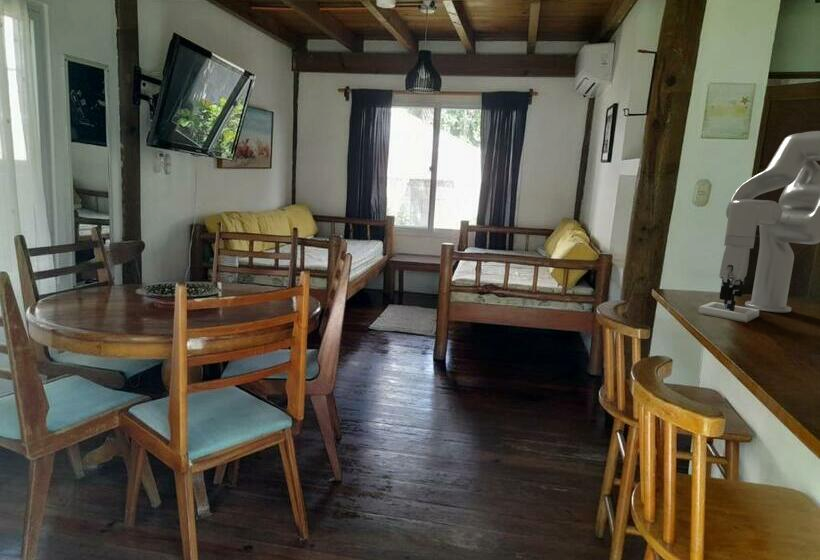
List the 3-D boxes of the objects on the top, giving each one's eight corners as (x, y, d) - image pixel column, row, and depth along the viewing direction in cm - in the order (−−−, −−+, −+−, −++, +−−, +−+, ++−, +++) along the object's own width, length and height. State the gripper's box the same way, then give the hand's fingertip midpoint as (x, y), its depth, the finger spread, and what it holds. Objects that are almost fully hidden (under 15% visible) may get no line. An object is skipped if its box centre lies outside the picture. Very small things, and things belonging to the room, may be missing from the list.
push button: (736, 316, 156) (741, 283, 154) (716, 313, 159) (721, 280, 158) (739, 312, 161) (744, 280, 159) (719, 309, 165) (724, 278, 163)
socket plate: (712, 308, 170) (712, 301, 169) (758, 316, 160) (759, 309, 160) (698, 313, 161) (699, 306, 161) (746, 322, 152) (747, 315, 152)
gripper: (734, 239, 165) (726, 292, 168) (715, 242, 154) (707, 299, 157) (762, 241, 160) (753, 296, 163) (744, 244, 148) (735, 303, 151)
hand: (730, 297), depth 160 cm, fingers open, 9 cm apart
